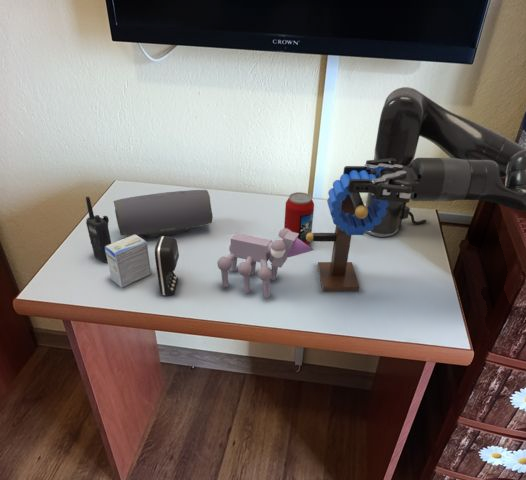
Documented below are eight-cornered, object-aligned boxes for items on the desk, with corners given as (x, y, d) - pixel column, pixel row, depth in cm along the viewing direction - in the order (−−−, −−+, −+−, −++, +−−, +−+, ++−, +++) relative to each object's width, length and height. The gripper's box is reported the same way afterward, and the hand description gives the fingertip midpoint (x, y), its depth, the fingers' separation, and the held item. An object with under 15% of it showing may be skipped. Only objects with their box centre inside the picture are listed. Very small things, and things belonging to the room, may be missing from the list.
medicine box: (140, 266, 116) (135, 233, 110) (152, 274, 114) (147, 240, 108) (110, 280, 112) (103, 245, 106) (122, 288, 109) (115, 254, 104)
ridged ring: (324, 222, 100) (330, 169, 92) (376, 222, 100) (387, 170, 93) (328, 235, 96) (334, 181, 89) (382, 235, 96) (393, 182, 89)
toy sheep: (315, 283, 113) (321, 228, 104) (301, 310, 105) (307, 254, 96) (232, 264, 117) (231, 210, 108) (214, 289, 110) (211, 234, 101)
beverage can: (308, 251, 123) (312, 205, 115) (281, 247, 124) (283, 202, 116) (312, 237, 128) (316, 192, 120) (285, 234, 129) (288, 189, 120)
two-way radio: (91, 256, 119) (77, 196, 108) (106, 249, 121) (94, 189, 111) (105, 265, 116) (92, 204, 106) (121, 257, 119) (110, 197, 108)
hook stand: (300, 266, 118) (309, 169, 102) (351, 266, 118) (367, 169, 103) (308, 311, 105) (319, 208, 89) (364, 311, 106) (385, 209, 90)
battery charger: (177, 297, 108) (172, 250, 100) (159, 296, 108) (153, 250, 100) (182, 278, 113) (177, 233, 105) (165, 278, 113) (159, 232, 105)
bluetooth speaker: (205, 217, 134) (203, 181, 127) (213, 234, 128) (212, 197, 121) (118, 228, 128) (111, 191, 122) (122, 247, 122) (115, 209, 115)
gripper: (444, 217, 89) (349, 216, 88) (423, 182, 100) (337, 182, 99) (456, 176, 84) (355, 175, 83) (432, 144, 95) (342, 143, 94)
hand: (346, 179), depth 91 cm, fingers closed on ridged ring, 5 cm apart
